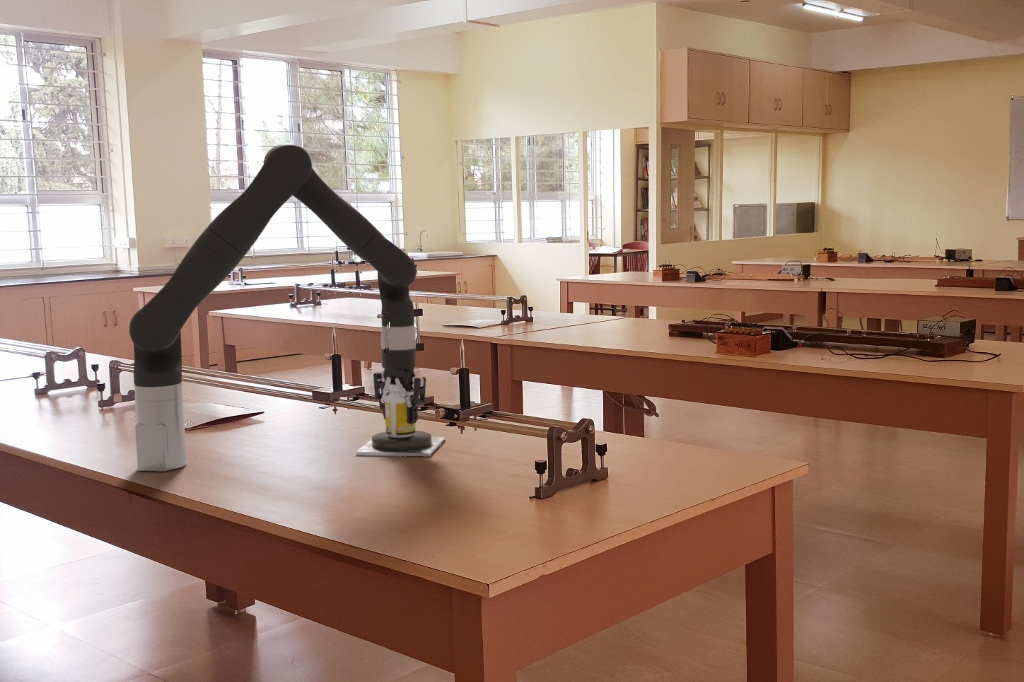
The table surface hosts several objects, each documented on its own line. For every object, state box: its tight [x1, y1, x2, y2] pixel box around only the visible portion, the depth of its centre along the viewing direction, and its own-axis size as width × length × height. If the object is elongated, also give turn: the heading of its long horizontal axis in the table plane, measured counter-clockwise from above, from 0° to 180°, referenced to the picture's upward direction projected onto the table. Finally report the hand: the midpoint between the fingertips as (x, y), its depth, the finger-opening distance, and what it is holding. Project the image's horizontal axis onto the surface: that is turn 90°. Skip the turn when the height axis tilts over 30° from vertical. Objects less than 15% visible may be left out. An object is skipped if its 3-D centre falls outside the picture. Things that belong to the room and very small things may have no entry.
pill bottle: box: [385, 384, 416, 438], centre depth 218 cm, size 6×6×12 cm
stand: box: [355, 430, 446, 458], centre depth 219 cm, size 16×16×2 cm
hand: (400, 421), depth 219 cm, fingers closed on pill bottle, 6 cm apart
